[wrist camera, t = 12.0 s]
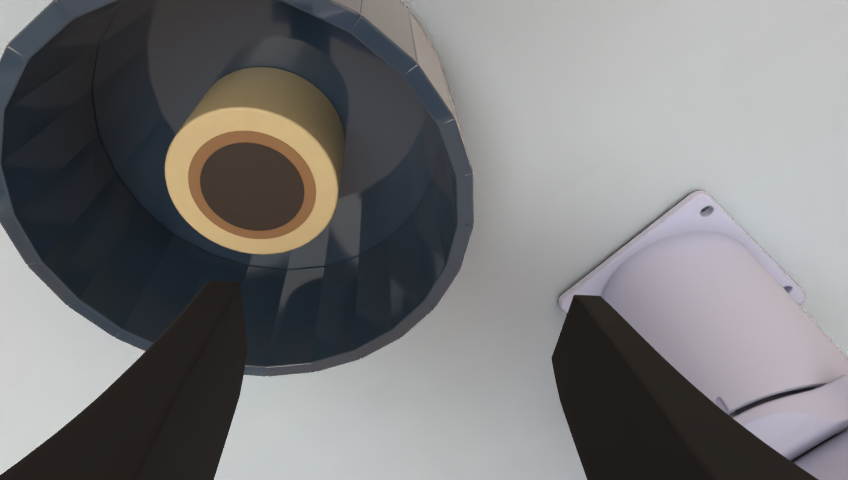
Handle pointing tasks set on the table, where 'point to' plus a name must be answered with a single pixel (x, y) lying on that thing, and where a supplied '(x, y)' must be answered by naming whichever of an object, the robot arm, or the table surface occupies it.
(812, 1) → the table surface
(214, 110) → the tape roll
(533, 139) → the table surface
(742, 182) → the table surface
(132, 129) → the dark round bowl
